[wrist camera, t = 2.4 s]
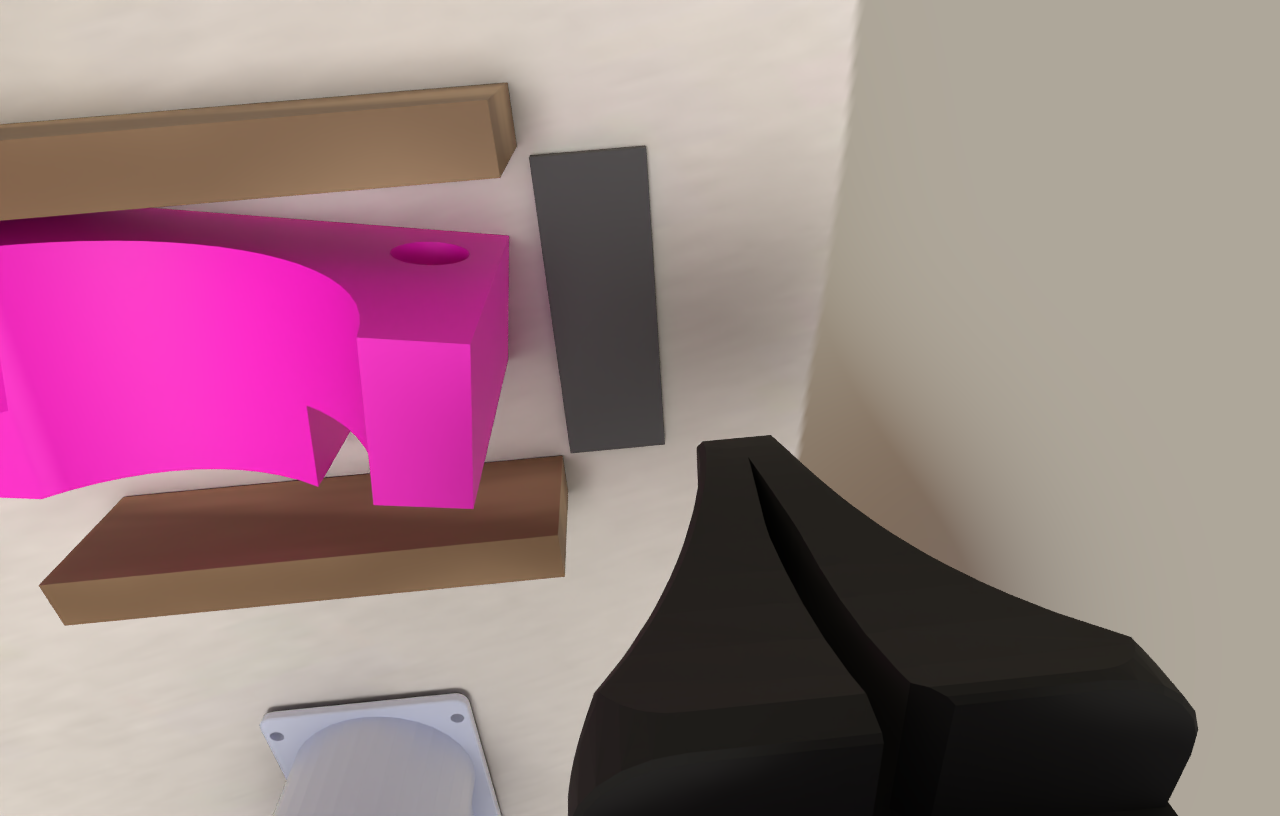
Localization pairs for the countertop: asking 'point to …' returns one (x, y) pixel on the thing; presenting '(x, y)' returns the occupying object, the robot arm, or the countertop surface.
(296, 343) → the toy block
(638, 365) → the pit pad
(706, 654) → the robot arm
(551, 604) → the countertop surface
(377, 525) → the channel
